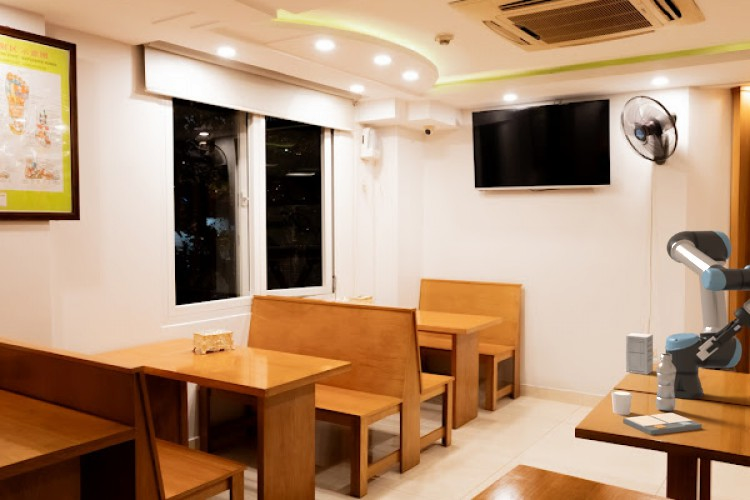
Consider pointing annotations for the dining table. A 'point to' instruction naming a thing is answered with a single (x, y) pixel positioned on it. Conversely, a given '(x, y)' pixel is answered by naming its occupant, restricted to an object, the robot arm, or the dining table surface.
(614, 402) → the white cup
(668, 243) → the robot arm
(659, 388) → the plastic bottle
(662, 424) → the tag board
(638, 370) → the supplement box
